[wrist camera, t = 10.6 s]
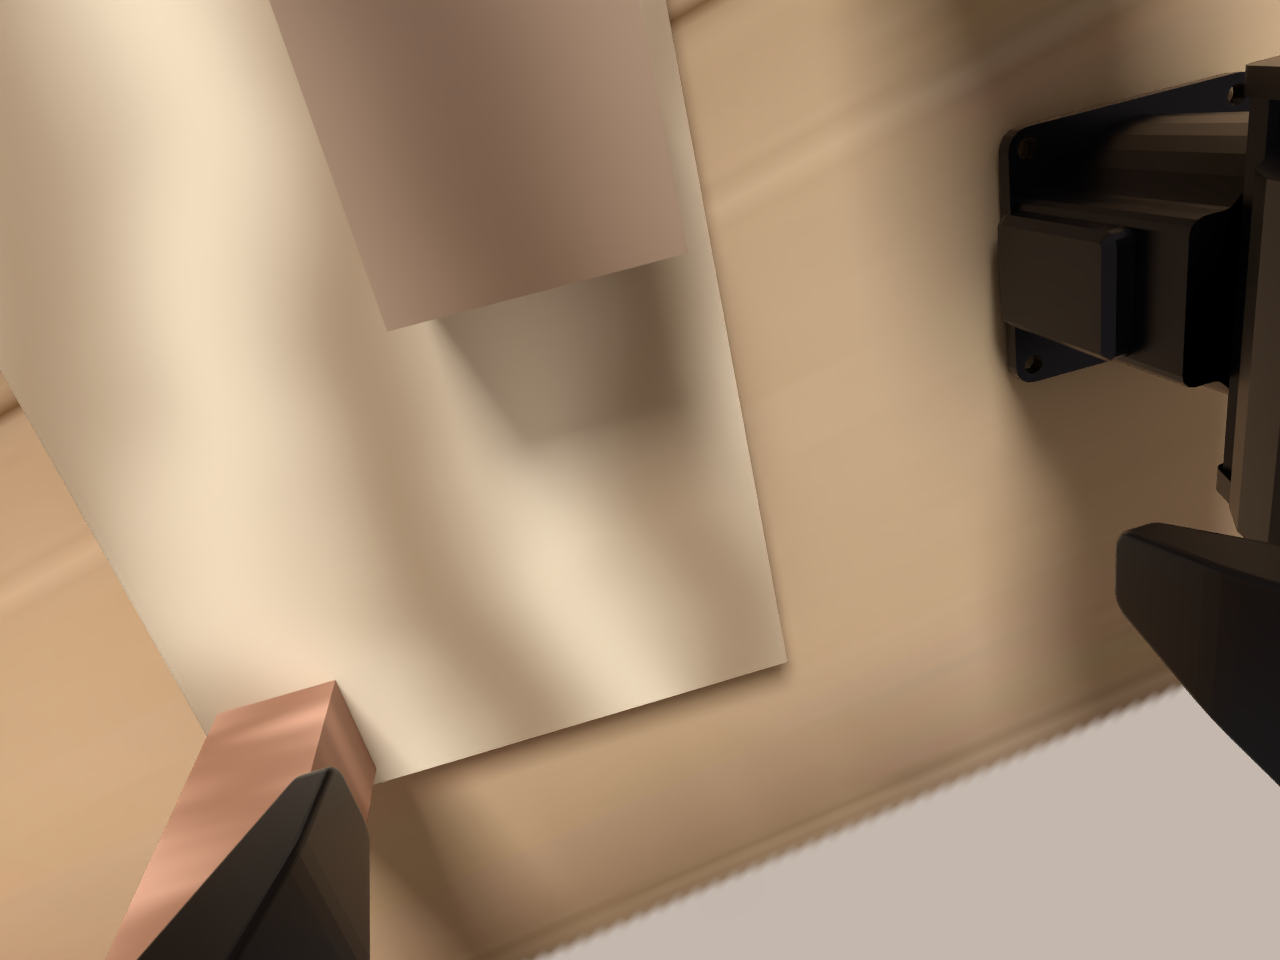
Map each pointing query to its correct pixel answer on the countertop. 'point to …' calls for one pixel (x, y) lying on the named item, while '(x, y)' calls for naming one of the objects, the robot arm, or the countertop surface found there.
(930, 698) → the countertop surface
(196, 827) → the board with upright post
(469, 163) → the walnut cube
